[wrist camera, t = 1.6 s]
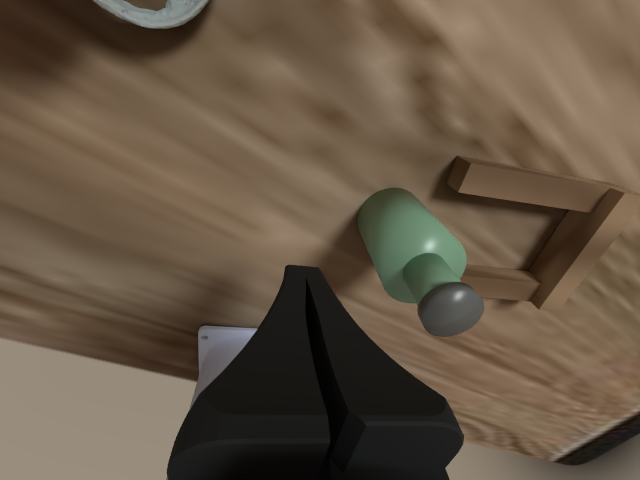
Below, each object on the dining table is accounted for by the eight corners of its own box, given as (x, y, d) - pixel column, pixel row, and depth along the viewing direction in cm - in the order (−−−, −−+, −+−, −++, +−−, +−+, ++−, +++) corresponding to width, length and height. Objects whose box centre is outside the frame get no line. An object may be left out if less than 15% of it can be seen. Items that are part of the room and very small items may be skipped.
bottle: (408, 248, 22) (476, 352, 14) (350, 242, 21) (388, 348, 13) (430, 192, 19) (525, 278, 12) (366, 183, 19) (424, 268, 11)
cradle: (535, 289, 25) (558, 311, 23) (406, 277, 23) (419, 299, 21) (610, 183, 20) (648, 197, 18) (457, 155, 18) (479, 167, 16)
